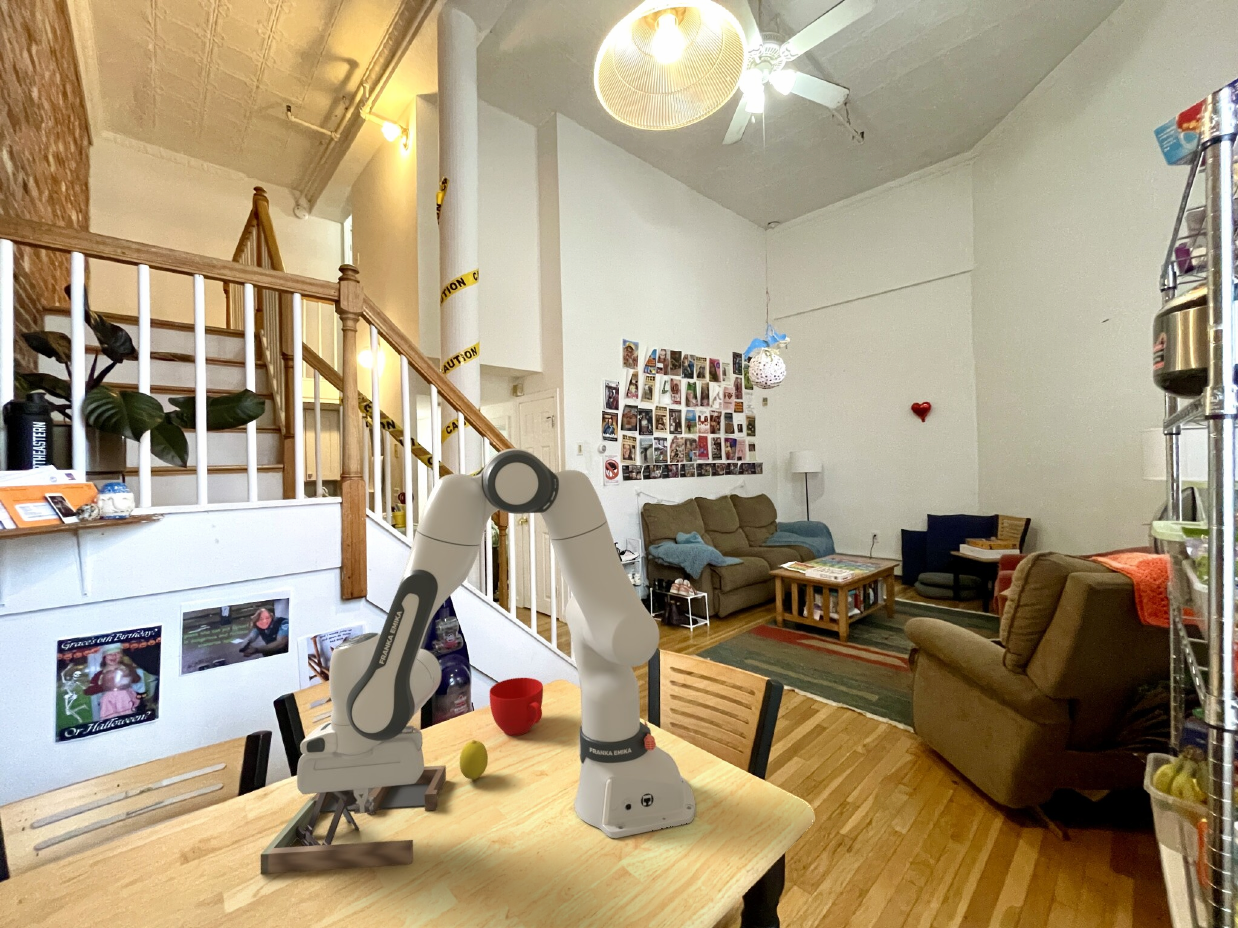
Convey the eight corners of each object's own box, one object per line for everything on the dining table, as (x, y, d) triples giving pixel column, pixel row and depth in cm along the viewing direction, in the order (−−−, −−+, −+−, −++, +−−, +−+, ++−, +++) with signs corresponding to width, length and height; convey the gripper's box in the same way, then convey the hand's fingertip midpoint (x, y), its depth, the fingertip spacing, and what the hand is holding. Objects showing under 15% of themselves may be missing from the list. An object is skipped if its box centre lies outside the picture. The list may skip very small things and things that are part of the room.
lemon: (480, 789, 100) (479, 748, 100) (454, 786, 101) (454, 746, 102) (492, 773, 106) (492, 734, 106) (468, 770, 107) (467, 732, 107)
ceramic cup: (516, 755, 112) (515, 710, 113) (480, 728, 125) (479, 687, 125) (563, 734, 121) (562, 692, 121) (525, 711, 134) (525, 673, 134)
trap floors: (438, 783, 102) (438, 782, 102) (426, 806, 95) (426, 804, 95) (339, 789, 101) (339, 787, 101) (320, 812, 94) (320, 810, 94)
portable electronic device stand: (295, 839, 87) (294, 790, 88) (342, 814, 94) (342, 769, 94) (316, 862, 82) (315, 810, 82) (365, 835, 88) (364, 786, 88)
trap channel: (449, 779, 104) (449, 765, 104) (410, 863, 81) (410, 844, 81) (333, 786, 102) (333, 771, 102) (260, 873, 80) (260, 854, 80)
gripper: (427, 716, 92) (431, 793, 91) (310, 726, 90) (313, 805, 90) (415, 733, 85) (419, 817, 85) (289, 744, 84) (293, 829, 84)
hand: (364, 811), depth 87 cm, fingers closed, pressing on portable electronic device stand
